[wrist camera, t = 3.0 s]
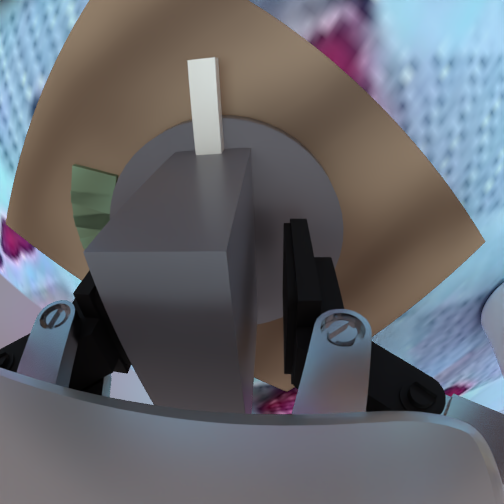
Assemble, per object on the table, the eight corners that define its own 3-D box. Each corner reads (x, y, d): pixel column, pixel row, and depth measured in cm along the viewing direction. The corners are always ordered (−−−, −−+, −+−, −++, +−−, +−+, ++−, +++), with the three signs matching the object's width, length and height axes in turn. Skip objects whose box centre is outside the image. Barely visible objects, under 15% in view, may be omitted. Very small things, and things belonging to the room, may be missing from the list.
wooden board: (467, 222, 14) (487, 243, 12) (286, 367, 21) (286, 394, 19) (149, -43, 8) (128, -57, 6) (25, 207, 15) (3, 225, 13)
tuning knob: (327, 311, 15) (346, 447, 9) (146, 308, 15) (99, 429, 9) (346, 59, 9) (461, 57, 3) (94, 81, 9) (-57, 128, 3)
